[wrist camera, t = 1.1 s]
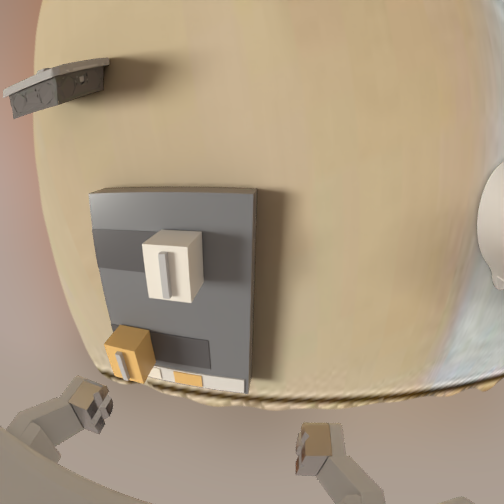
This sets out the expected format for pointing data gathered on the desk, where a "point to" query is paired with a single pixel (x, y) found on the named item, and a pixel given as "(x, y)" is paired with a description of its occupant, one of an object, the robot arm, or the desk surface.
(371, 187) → the desk surface
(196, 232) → the ivory slider
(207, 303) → the switch unit
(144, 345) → the amber slider
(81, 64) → the grey hollow box
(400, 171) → the desk surface
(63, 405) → the robot arm
